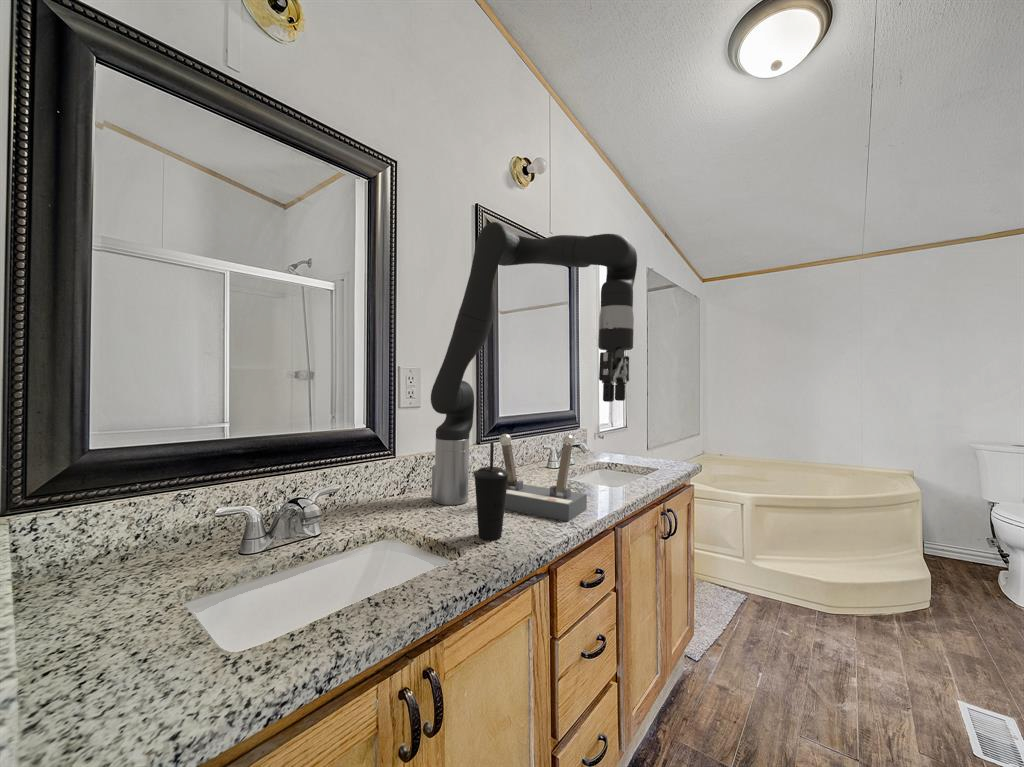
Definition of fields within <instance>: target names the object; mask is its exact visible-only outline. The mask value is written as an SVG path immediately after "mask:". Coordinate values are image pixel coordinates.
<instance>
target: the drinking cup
mask: <svg viewBox="0 0 1024 767" xmlns="http://www.w3.org/2000/svg"><path fill="white" fill-rule="evenodd" d="M489 444H490V445H489V447H490V449H489V450H490V451H489V466H484V467H481V468H479V469H477V470H474V471H473V473H472V474H473V476H474V486H475V499H476V500H475V502H476V516H477V532H478V538H479V539H480V540H482V539H483V540H484V541H488V540H493V541H497V539H498V540H500V539H501V538H502V536H503V534H502V533H503V524H504V517H505V516H504V514H505V509H504V508H505V499H506V489H507V480H508V476H509V472H508V471H506V469H504V468H502V467H498V466H494V446H495V444H494V441H492V442H490V443H489ZM483 540H482V541H483Z"/></svg>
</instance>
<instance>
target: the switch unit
mask: <svg viewBox="0 0 1024 767" xmlns="http://www.w3.org/2000/svg"><path fill="white" fill-rule="evenodd" d="M587 498H588V494H587V493H581V492H575V491H572V489H571V487H566V488H565V489H563V493H559V492H556V485H552V486H549V487H542V486H537V485H532V484H531V485H530V484H524V481H523V480H517V482H516V483H515V487H513V486H509V485H508V480H507V489H506V499H505V508H504V510H507V509H508V510H509V511H513V512H519V513H522V514H523V513H524V514H528V515H534V516H538V517H544V518H549V519H554V520H558V519H559V521H563V520H565V521H564V522H568V521H569V522H570V521H572V520H573V519H574V517H575V518H576V517H577V515H578V516H580V513H581V514H582V513H584V512H585V511H587V510H586V509H588V508H587V507H588V506H587V502H588V499H587ZM583 511H584V512H583ZM571 519H572V520H571Z"/></svg>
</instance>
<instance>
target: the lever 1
mask: <svg viewBox="0 0 1024 767" xmlns="http://www.w3.org/2000/svg"><path fill="white" fill-rule="evenodd" d="M499 436H500V437H499V439H498V440H499V443H500V445H501V450H502V456H503V461H504V466H505V471H508V472H509V476H508V485H509V486H513V487H515V483H516V482H517V481H518V477H517V472H516V467H515V464H516V463H515V460H514V453H513V448H512V437H511V435H510V434H508V433H503V434H501V435H499Z"/></svg>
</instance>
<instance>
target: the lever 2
mask: <svg viewBox="0 0 1024 767" xmlns="http://www.w3.org/2000/svg"><path fill="white" fill-rule="evenodd" d="M561 441H562V449H561V454H560V461H559V466H558V467H559V468H558V472H557V473H558V474H557V479H556V480H557V481H556V485H555V486H556V492H559V493H563V489H565V488H567V483H568V476H569V471H570V470H569V469H570V464H571V456H572V451H573V446H574V444H575V438H574V436H573V435H571V434H565V435H564V436H563V438H562V440H561Z"/></svg>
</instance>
